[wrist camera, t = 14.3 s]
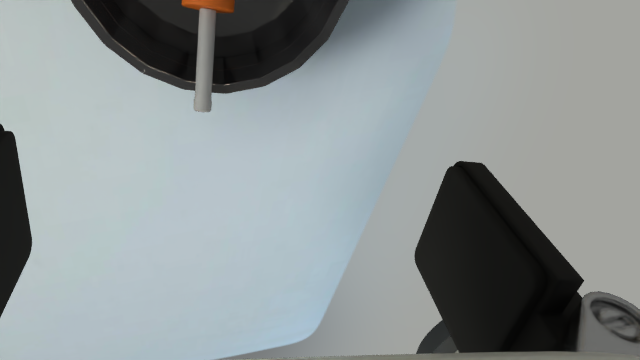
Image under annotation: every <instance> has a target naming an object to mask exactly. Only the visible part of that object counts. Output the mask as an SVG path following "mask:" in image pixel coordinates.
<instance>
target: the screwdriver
mask: <svg viewBox="0 0 640 360" xmlns="http://www.w3.org/2000/svg"><path fill="white" fill-rule="evenodd" d="M234 3H235V0H182V6H184V7H187V8H191V9H196V10H199V28H198V48H197V67H196V86H195V99H194V110H195V111H198V112H210V111H211V105H212V101H211V93H212V76H213V59H214V43H215V26H216V12H217V13H233V12H234Z"/></svg>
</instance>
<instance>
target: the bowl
mask: <svg viewBox="0 0 640 360" xmlns="http://www.w3.org/2000/svg"><path fill="white" fill-rule="evenodd" d="M71 1H72V3H73V5H74V7H75V8H76V9H77V10H78V12H79V13H80V14H81V15H82V17H83V18H84V19H85V21H86V22H87V23H88V24H89V26H90V27H91V28H92V29H93V31H94V32H95V33H96V35H97V36H98V37H99V38H100V40H101V41H102V42H103V44H105V45H106V46H107V47H108V48H110V49H111V50H112V51H114V52H115V53H116V54H118V55H119V56H120V57H122V58H123V59H124V60H126V61H127V62H128V63H130V64H131V65H132V66H134V67H135V68H136V69H138V70H139V71H140V72H142V73H143V74H146V75H148V76H151V77H153V78H156V79H158V80H161V81H163V82H166V83H168V84H171V85H173V86H176V87H179V88H181V89H185V90H194V91H195V86H196V67H197V48H198V28H199V10H196V9H191V8H187V7H184V6H182V0H71ZM348 1H349V0H235V3H234V12H233V13H217V12H216V26H215V43H214V59H213V76H212V92H213V93H223V94H224V93H225V94H226V93H232V92H237V91H242V90H248V89H253V88H258V87H263V86H266V85H268V84H270V83H272V82H273V81H275V80H277V79H279V78H281V77H283V76H285V75H287V74H289V73H291V72H293V71H294V70H296V69H298V68H300V67H301V66H302V65H303V64H304V63H305V62H306V61H307V60H308V59H309V58H310V57H311V56H312V55H313V54H314V53H315V52H316V51H317V50H318V49H319V48H320V47H321V46H322V45H323V44H324V43H325V42H326V41H327V40H328V38H329V37H330V35H331V33H332V31H333V29H334V27H335V26H336V24H337V22H338V20H339V18H340V16H341V15H342V13H343V11H344V9H345V7H346V5H347V3H348Z"/></svg>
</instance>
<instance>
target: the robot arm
mask: <svg viewBox="0 0 640 360" xmlns="http://www.w3.org/2000/svg"><path fill="white" fill-rule="evenodd" d="M31 247H32V237H31V231H30V225H29V219H28V213H27V207H26V201H25V195H24V189H23V183H22V177H21V171H20V165H19V159H18V153H17V147H16V141H15V136H14V134H13V133H12V132H11V131H4V128H3V126H2V125H1V124H0V317H1V315H2V313H3V311H4V308H5V306H6V304H7V302H8V300H9V298H10V296H11V294H12V292H13V289H14V287H15V285H16V283H17V281H18V279H19V277H20V275H21V273H22V270H23V268H24V266H25V264H26V262H27V260H28V258H29V255H30V252H31ZM415 263H416V265H417V267H418V269H419V271H420V273H421V275H422V278H423V280H424V282H425V284H426V286H427V288H428V290H429V291H430V294H431V296H432V298H433V300H434V302H435V304H436V306H437V308H438V311H439V313H440V315H441V317H442V319H443V321H444V323H445V325H446V327H447V329H448V331H449V333H450V335H451V337H452V339H453V341H454V344H455V346H456V348H457V351H456V352H455V353H438V354H401V355H400V354H399V355H362V356H329V357H296V358H263V359H235V360H640V309H638V308H637V307H636V306H634V305H633V304H631V303H629V302H628V301H626V300H624V299H622V298H620V297H617V296H615V295H612V294H609V293H604V292H599V291H598V292H590V293H588V294H586V295H584V297H583V298H582V297H581V296H580V295H579V293H578V292H577V290H578V289H579V287H580V286H581V284H582V283H583V282H584V280H583V279H582V278H581V276H580V275H579V274H578V273H577V272H576V271H575V269H574V268H573V267H572V266H571V265H570V264H569V262H568V261H567V260H566V259H565V258H564V257H563V256H562V255H561V253H560V252H559V251H558V250H557V249H556V247H555V246H554V245H553V244H552V243H551V242H550V240H549V239H548V238H547V237H546V236H545V235H544V234H543V232H542V231H541V230H540V229H539V228H538V227H537V226H536V225H535V223H534V222H533V221H532V220H531V218H530V217H529V216H528V215H527V214H526V213H525V212H524V210H523V209H522V208H521V207H520V206H519V205H518V203H516V201H515V200H514V199H513V198H512V196H511V195H510V194H509V193H508V192H507V191H506V190H505V188H504V187H503V186H502V185H501V184H500V183H499V181H497V179H496V178H495V177H494V176H493V175H492V173H491V172H490V171H489V170H488V169H487V168H486V166H485V165H483V164H482V163H475V162H464V161H459V162H457V163H456V164H455V165H454V166H451V167H449V168H448V169H447V171H446V174H445V176H444V179H443V181H442V184H441V186H440V189H439V191H438V194H437V196H436V199H435V202H434V204H433V207H432V209H431V212H430V214H429V217H428V219H427V222H426V224H425V227H424V229H423V232H422V235H421V237H420V240H419V242H418V245H417V247H416V251H415ZM232 360H234V359H232Z"/></svg>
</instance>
